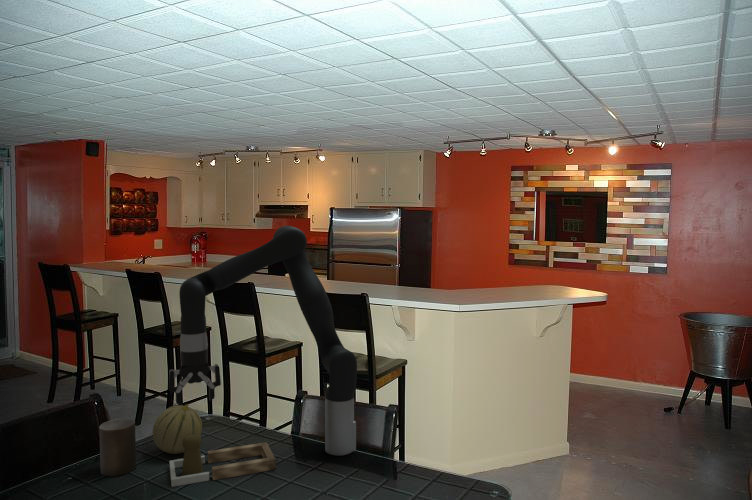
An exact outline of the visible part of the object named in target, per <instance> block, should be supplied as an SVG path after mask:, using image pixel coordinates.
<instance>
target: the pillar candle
mask: <svg viewBox="0 0 752 500" xmlns="http://www.w3.org/2000/svg"><path fill="white" fill-rule="evenodd" d="M98 429H99V458H100V460H99V461H100V474H101V475H102V476H105V477H114V476H115V477H117V476H122V475H126V474H129V473H131V472H132V471H134V470H135V469H136V468H137V442H136V441H137V439H136V438H137V437H136V421H135V419H133V418H115V419H110V420H109V421H105V422H102V423H101V424H100V425H99V427H98Z"/></svg>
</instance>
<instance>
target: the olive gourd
mask: <svg viewBox="0 0 752 500" xmlns="http://www.w3.org/2000/svg"><path fill="white" fill-rule="evenodd" d="M201 445H202V437H201V436H198V435H189V436H186V437H185V438H184V439H183V447H184V448H185V451H184V453H183V458H182V459H183V467H181V468H182V469H181V476H186V475H192V474H198V473H204V468H203V467H204V466H203V464H202V460H201V456H202V455H201Z"/></svg>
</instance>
